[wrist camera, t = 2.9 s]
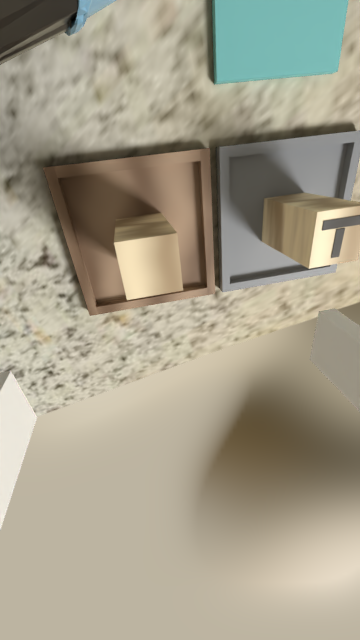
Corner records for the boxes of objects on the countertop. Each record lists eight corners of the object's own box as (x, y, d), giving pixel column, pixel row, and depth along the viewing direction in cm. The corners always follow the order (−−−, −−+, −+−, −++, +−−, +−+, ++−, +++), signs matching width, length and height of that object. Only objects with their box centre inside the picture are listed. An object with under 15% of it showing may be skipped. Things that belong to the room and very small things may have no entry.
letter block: (261, 241, 34) (309, 268, 25) (264, 198, 31) (317, 212, 23) (298, 235, 34) (357, 260, 26) (304, 192, 32) (371, 204, 23)
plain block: (125, 263, 32) (126, 300, 24) (115, 219, 29) (113, 242, 21) (166, 256, 33) (183, 290, 24) (161, 212, 30) (177, 233, 21)
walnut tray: (90, 311, 34) (89, 315, 33) (45, 167, 26) (42, 167, 25) (212, 289, 36) (215, 293, 35) (206, 148, 28) (209, 148, 27)
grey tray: (219, 288, 36) (222, 292, 35) (215, 147, 28) (219, 146, 27) (329, 269, 38) (335, 272, 37) (357, 130, 30) (365, 129, 29)
